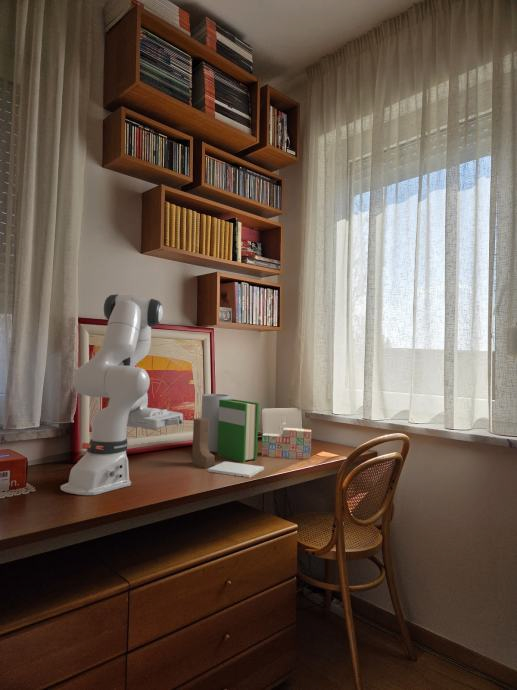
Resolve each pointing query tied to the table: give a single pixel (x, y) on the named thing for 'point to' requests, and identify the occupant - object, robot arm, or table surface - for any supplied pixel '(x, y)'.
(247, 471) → the white flat panel
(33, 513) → the table surface
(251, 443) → the hardback book
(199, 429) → the wooden block
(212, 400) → the cylinder vase
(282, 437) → the stack of blocks
